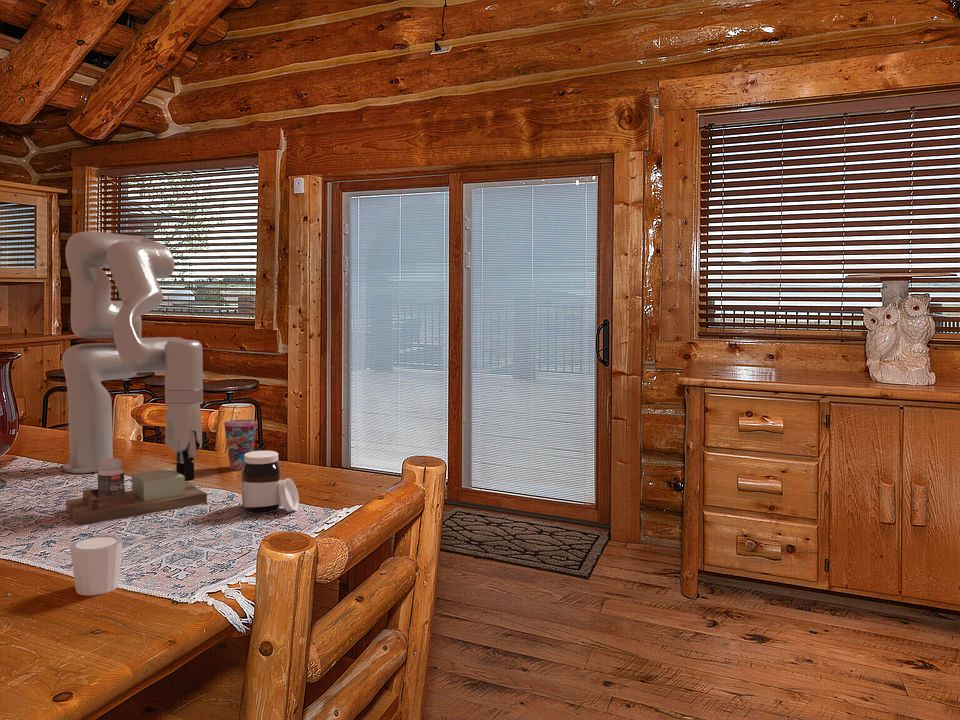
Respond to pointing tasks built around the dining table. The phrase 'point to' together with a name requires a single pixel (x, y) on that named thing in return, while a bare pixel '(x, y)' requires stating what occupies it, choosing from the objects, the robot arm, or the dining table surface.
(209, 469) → the dining table surface
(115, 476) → the pill bottle
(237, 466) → the cup
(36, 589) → the dining table surface
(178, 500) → the housing
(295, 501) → the spread jar
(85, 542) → the white tapered cylinder
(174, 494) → the pale green block
